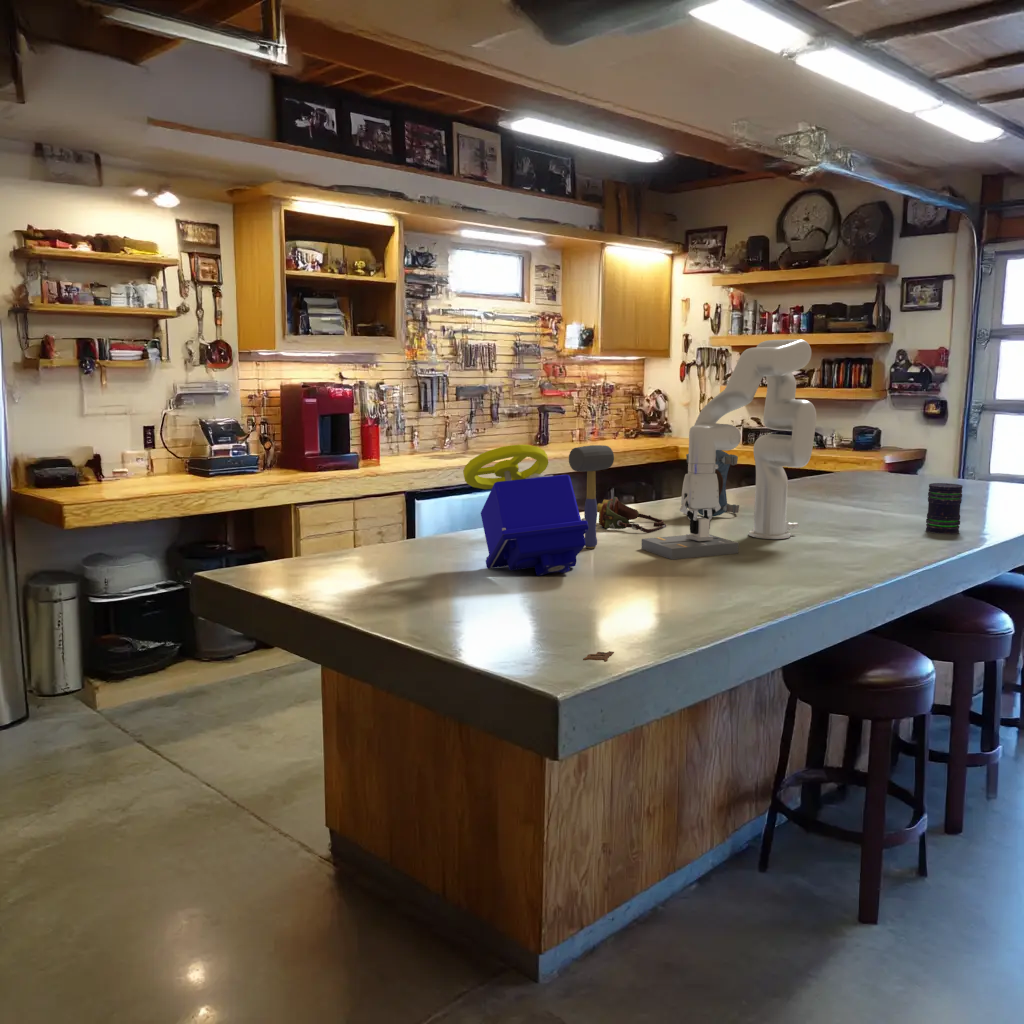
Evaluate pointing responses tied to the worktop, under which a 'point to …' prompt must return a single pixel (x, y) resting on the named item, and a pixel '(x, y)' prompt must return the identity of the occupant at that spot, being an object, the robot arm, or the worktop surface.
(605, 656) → the brown piece
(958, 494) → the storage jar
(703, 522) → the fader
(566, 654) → the worktop surface
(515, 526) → the blue valve actuator
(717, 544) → the console
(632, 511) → the goggles
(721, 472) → the knee pad
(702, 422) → the robot arm
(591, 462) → the rubber mallet
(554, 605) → the worktop surface
